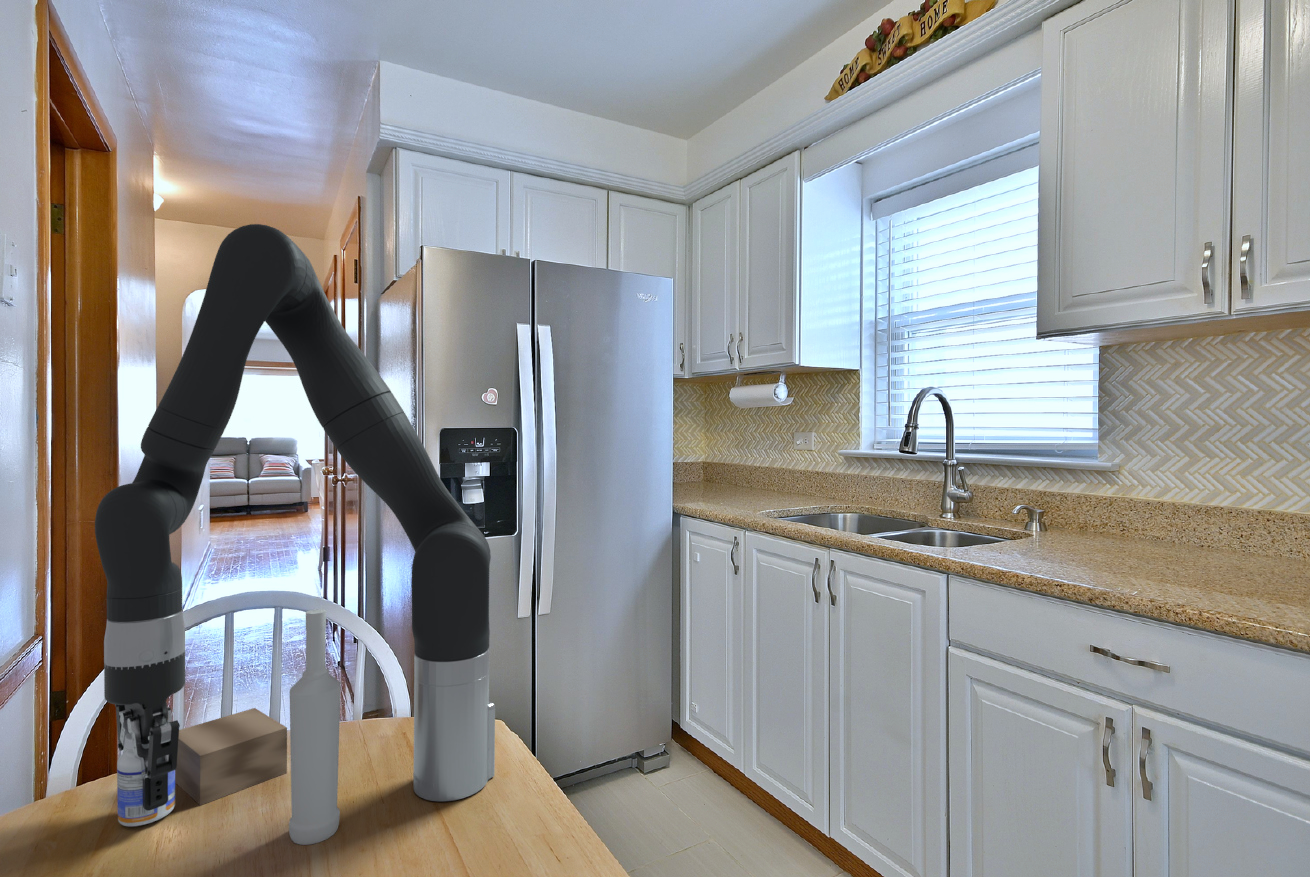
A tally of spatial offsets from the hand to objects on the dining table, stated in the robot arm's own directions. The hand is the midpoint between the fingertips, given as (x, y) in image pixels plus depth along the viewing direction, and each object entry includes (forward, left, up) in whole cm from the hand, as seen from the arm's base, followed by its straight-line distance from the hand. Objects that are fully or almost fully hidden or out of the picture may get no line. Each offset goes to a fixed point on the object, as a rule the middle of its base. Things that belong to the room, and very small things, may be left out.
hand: (146, 797), depth 79 cm
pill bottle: (0, 0, -2) cm, 2 cm away
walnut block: (-10, -3, -2) cm, 11 cm away
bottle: (-11, +18, -3) cm, 21 cm away
